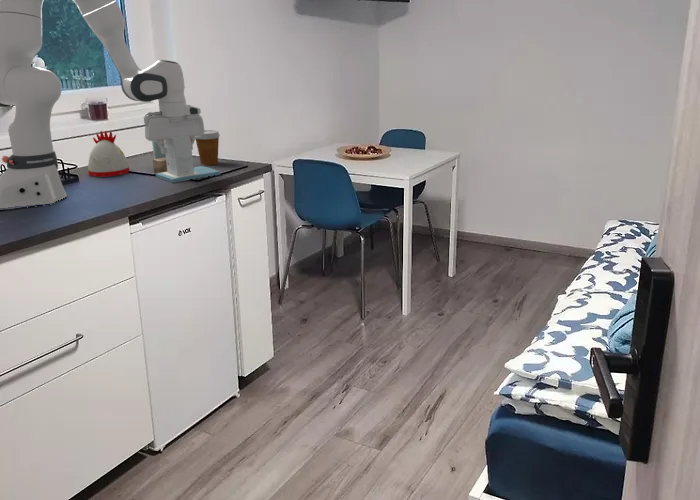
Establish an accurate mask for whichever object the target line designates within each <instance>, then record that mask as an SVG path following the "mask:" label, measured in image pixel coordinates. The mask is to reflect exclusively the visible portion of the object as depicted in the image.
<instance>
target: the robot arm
mask: <svg viewBox="0 0 700 500" xmlns="http://www.w3.org/2000/svg"><path fill="white" fill-rule="evenodd" d="M44 1H45V0H0V104H2V105H6V106H15V113H14V115H15V116H14V119H13V122H11V124H9V126H8V129H7V131H8V137H9V141H10V145H11V150H12V154H11V155H9V156H7V155H3V156H2V157H1V161H2V162H3V163H5V164H6V165H7V166H6V167H7V169H6V170H4V172H2V174H1V175H0V208H8V207H15V206H26V205H35V204H49V203H54V202H56V201H57V202H59V201H62V200H63V198H64V199H65V197H66V198H67V197H68V194H67V192H66V191H65V188H64V186H63V183H62V180H61V177H60V174H59V162H58V157H57V154H56V151H55V150H54V146H53V139H52V132H51V119H52V112H53V108H54V106H55V104H56V102H58V100H59V99H60V97H61V94H62V84H61V81H60V78H59V77H58V76H57V75H56V74H55V72H52V71H51V70H48V69H45V68H42V67H38V66H32V63H33V60H34V59H35V56H36V55H37V54H38V53H39V52H40V51H41V49H42V47H43V12H42V10H43V9H42V8H43V4H44ZM72 1H73V3H75V5H76V6H77V8H78V10H79V12H80V14H81V16H82V17H83V19H84V21H85V22H86V24H87V25H88V27H89V28H90V30H91V31H92V32H93V34H94V35H95V36H96V38H97V39H98V40H99V41H100V42H101V44H102V45H103V47H104V48H105V49H106V51H107V53H108V54H109V57H110V59H111V61H112V62H113V65H114V66H115V68H116V70H117V72H118V74H119V78H120V86H121V89H122V93H123V94H124V95H125V97H127V98H128V99H129V100H132V101H134V102H135V101H136V102H141V103H150V102H152V101H156V100H157V101H158V108H159V110H158V111H154V112H153V111H152V112H147V114H145V115H144V117H143V122H144V127H145V128H144V137H145V138H146V140H147V141H150V142H152V141H157V144H158V146H159V147H160V148H161V153H162V154H164V153H167V148H165V147H164V146H163V145H162V143H163V140H167V139H171V137H176V136H184V135H189V136H190V138H191V148H192V151H193V149H194V148H193V147H194V146H193V145H194V143H195V141H196V139H195V136H202V135H203V134H204V130H205V124H204V120H203V117H202V116H201V115H200V114H201V111H202V110H201V108H199V107H196V106H193V105H190V104H187V100H186V97H185V88H186V87H185V78H184V74H183V68H182V67H181V65H180V64H179V63H178V62H176V61H174V60H173V61H172V60H166V59H158V60H156V62H154V63H153V64H151V65H150V66H148V67H147V68H144V69H141V68H140V67H139V66H138V65H137V63H136V61H135V59H134V57H133V55H132V53H131V51H130V50H129V48H128V46H127V43H126V39H125V26H126V21H125V18H124V14H123V12H122V9H121V8H120V5H119V4H118V2H117V0H72ZM61 199H62V200H61ZM58 200H59V201H58ZM57 202H56V203H57ZM54 204H55V203H54Z"/></svg>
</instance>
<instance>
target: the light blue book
mask: <svg viewBox="0 0 700 500" xmlns="http://www.w3.org/2000/svg"><path fill="white" fill-rule="evenodd" d="M193 167H194V173H191V174H185V175H179V176H177V175H174V174H171V173H168V172H162V173H155V178H158V179H161V180H164V181H166V182H168V183H169V182H170V183H172V184H175V183H179V182H185V181H191V180H190V179H193V180H197V179H196V178H198V179H201V178H200V177H204V178H208V176H210V177H214V175H215V176H220V175H221V171H220V170H217V169H214V168H210V167H207V166H205V165H200V166H199V165H198V166H193Z"/></svg>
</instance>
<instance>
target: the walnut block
mask: <svg viewBox="0 0 700 500" xmlns="http://www.w3.org/2000/svg"><path fill="white" fill-rule="evenodd" d="M152 164H153V172H154V173H153V174H156V173H162V172H167V163H166V157H165V158H158V159H155V158H153V159H152Z"/></svg>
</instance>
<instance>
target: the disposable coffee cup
mask: <svg viewBox="0 0 700 500" xmlns="http://www.w3.org/2000/svg"><path fill="white" fill-rule="evenodd" d="M220 136H221V135H220V134H219V131H218V130H216V129H215V130H214V129H213V130H212V129H207V130H205V129H204V134H203V135H202V136H195V141H196V147H197V152H198V157H199V161H200V165H201V166H213V165H217V164H218V163H219V161H218V160H219V141H220V140H219V138H220Z"/></svg>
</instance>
